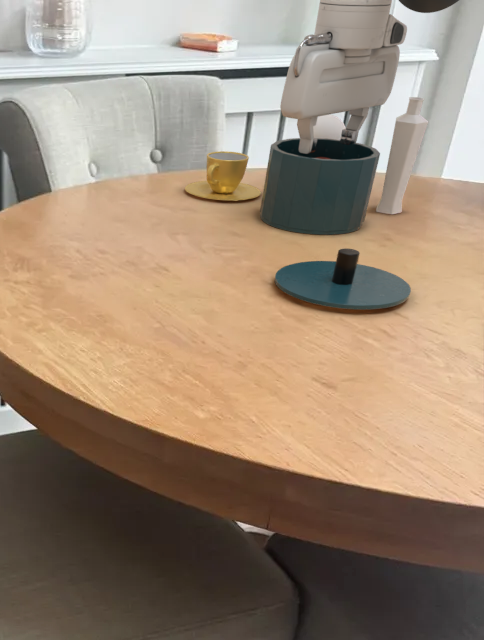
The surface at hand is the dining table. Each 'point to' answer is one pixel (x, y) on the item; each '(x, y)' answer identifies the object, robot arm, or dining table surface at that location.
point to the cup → (224, 178)
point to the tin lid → (342, 283)
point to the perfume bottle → (402, 156)
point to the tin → (318, 186)
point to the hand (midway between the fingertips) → (327, 148)
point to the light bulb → (328, 127)
